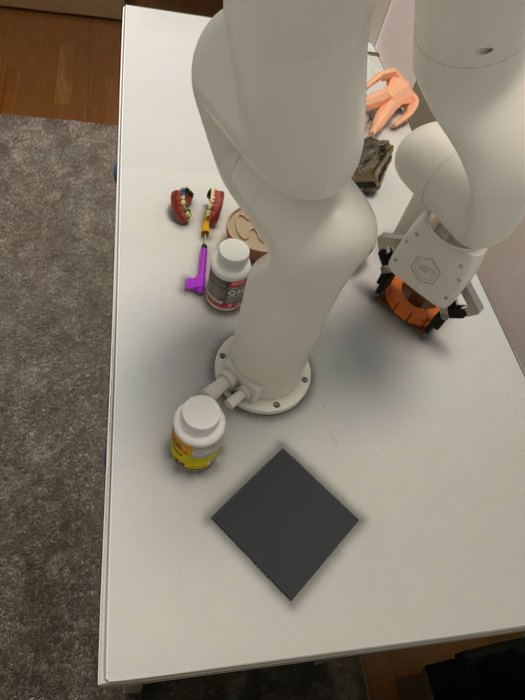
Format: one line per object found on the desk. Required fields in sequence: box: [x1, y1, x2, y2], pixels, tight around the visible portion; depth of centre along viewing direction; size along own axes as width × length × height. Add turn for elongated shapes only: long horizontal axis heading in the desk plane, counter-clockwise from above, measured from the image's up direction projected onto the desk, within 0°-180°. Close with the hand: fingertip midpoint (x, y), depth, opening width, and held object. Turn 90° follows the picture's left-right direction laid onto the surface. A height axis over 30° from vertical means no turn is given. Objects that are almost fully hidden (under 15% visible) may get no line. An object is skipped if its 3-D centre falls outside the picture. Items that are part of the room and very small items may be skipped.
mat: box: [211, 447, 360, 601], centre depth 62 cm, size 12×12×1 cm
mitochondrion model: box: [225, 207, 378, 262], centre depth 83 cm, size 23×10×5 cm, turn 97°
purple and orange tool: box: [185, 215, 211, 295], centre depth 81 cm, size 3×1×16 cm
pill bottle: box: [205, 238, 252, 312], centre depth 74 cm, size 5×5×10 cm
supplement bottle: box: [170, 394, 227, 472], centre depth 61 cm, size 6×6×10 cm
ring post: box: [374, 285, 435, 337], centre depth 82 cm, size 9×9×6 cm
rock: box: [351, 135, 395, 193], centre depth 96 cm, size 9×9×6 cm
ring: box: [386, 275, 440, 327], centre depth 83 cm, size 10×10×2 cm
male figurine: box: [366, 67, 420, 138], centre depth 108 cm, size 11×5×25 cm
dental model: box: [170, 185, 225, 225], centre depth 84 cm, size 6×4×8 cm
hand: (406, 307), depth 81 cm, fingers closed on ring, 8 cm apart
